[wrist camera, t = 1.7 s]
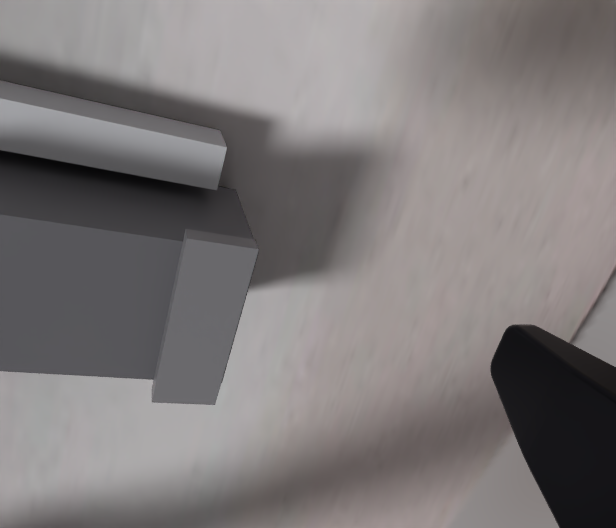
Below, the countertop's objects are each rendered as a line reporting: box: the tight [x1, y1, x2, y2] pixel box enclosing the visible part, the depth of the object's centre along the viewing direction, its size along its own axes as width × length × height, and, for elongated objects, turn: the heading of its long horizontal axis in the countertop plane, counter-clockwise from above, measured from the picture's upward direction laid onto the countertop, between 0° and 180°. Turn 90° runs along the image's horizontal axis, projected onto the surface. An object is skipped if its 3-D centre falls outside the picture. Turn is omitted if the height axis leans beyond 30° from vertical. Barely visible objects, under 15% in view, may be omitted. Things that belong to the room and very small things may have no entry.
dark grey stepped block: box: [0, 150, 259, 405], centre depth 17 cm, size 6×10×6 cm, turn 73°
